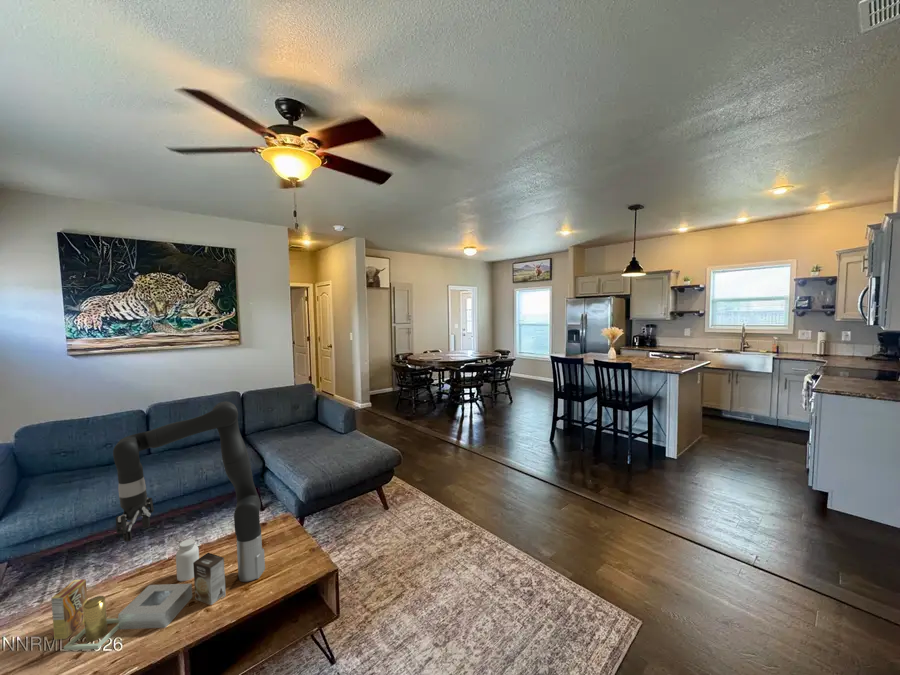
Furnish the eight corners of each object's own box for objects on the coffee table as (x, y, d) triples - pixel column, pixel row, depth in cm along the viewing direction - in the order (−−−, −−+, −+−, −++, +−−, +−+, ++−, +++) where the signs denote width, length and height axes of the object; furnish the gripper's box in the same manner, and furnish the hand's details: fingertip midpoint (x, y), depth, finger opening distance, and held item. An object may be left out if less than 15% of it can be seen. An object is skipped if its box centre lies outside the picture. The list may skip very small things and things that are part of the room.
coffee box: (194, 602, 143) (191, 562, 142) (209, 590, 149) (207, 552, 148) (211, 607, 140) (209, 567, 139) (226, 595, 146) (224, 556, 145)
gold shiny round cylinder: (111, 628, 130) (109, 594, 129) (97, 642, 125) (95, 607, 124) (95, 629, 130) (93, 595, 129) (81, 643, 125) (78, 607, 124)
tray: (126, 623, 133) (126, 618, 133) (98, 651, 122) (97, 645, 122) (95, 624, 133) (94, 619, 133) (64, 652, 122) (63, 646, 122)
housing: (192, 599, 144) (191, 583, 144) (166, 630, 130) (165, 612, 130) (150, 600, 144) (149, 584, 143) (119, 631, 130) (118, 614, 129)
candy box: (77, 619, 135) (73, 579, 134) (89, 618, 136) (86, 578, 135) (53, 640, 126) (49, 598, 125) (67, 639, 127) (63, 597, 126)
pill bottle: (204, 570, 160) (202, 537, 159) (189, 584, 152) (187, 549, 151) (187, 569, 161) (185, 536, 160) (172, 582, 153) (169, 548, 152)
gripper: (127, 500, 128) (133, 545, 130) (157, 481, 143) (162, 521, 144) (105, 502, 128) (110, 546, 129) (137, 483, 142) (142, 523, 144)
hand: (137, 533), depth 137 cm, fingers open, 8 cm apart
